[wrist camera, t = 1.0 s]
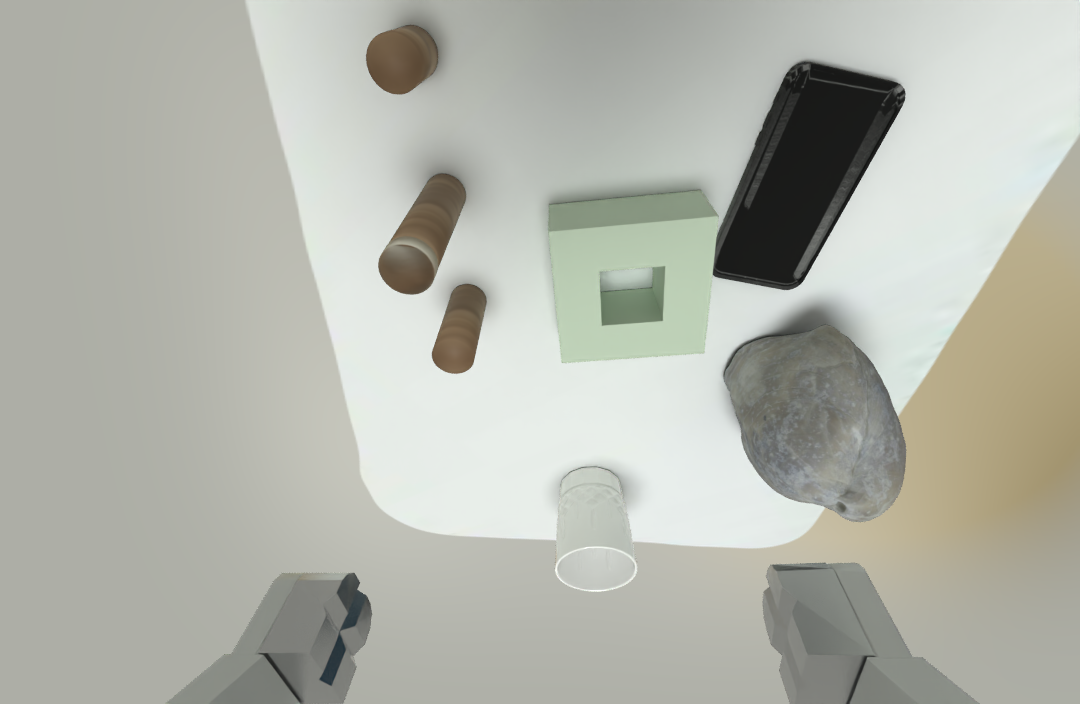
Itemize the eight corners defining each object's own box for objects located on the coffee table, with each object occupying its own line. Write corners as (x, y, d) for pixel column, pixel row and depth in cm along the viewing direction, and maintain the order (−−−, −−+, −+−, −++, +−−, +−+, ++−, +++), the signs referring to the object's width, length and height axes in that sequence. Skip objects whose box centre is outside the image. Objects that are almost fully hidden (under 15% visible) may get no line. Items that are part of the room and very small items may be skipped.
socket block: (548, 204, 37) (548, 231, 33) (700, 190, 36) (718, 216, 32) (561, 328, 44) (561, 363, 40) (690, 318, 43) (704, 353, 39)
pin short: (384, 28, 31) (358, 35, 27) (432, 22, 31) (413, 28, 27) (397, 82, 33) (375, 97, 29) (442, 77, 32) (426, 91, 28)
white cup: (616, 511, 59) (625, 595, 51) (549, 503, 58) (548, 587, 50) (633, 467, 54) (647, 551, 46) (561, 458, 54) (562, 542, 46)
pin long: (420, 175, 36) (371, 246, 27) (461, 171, 36) (427, 241, 26) (430, 216, 38) (387, 296, 28) (469, 212, 38) (440, 292, 28)
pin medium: (447, 285, 42) (427, 341, 35) (483, 282, 41) (469, 338, 35) (454, 316, 43) (437, 374, 37) (489, 313, 43) (477, 372, 37)
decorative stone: (746, 296, 41) (824, 426, 29) (871, 301, 41) (1001, 433, 29) (704, 427, 50) (751, 567, 38) (807, 431, 50) (886, 573, 38)
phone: (913, 86, 31) (797, 292, 40) (903, 83, 32) (791, 285, 41) (795, 59, 31) (703, 274, 40) (788, 56, 32) (700, 268, 40)
